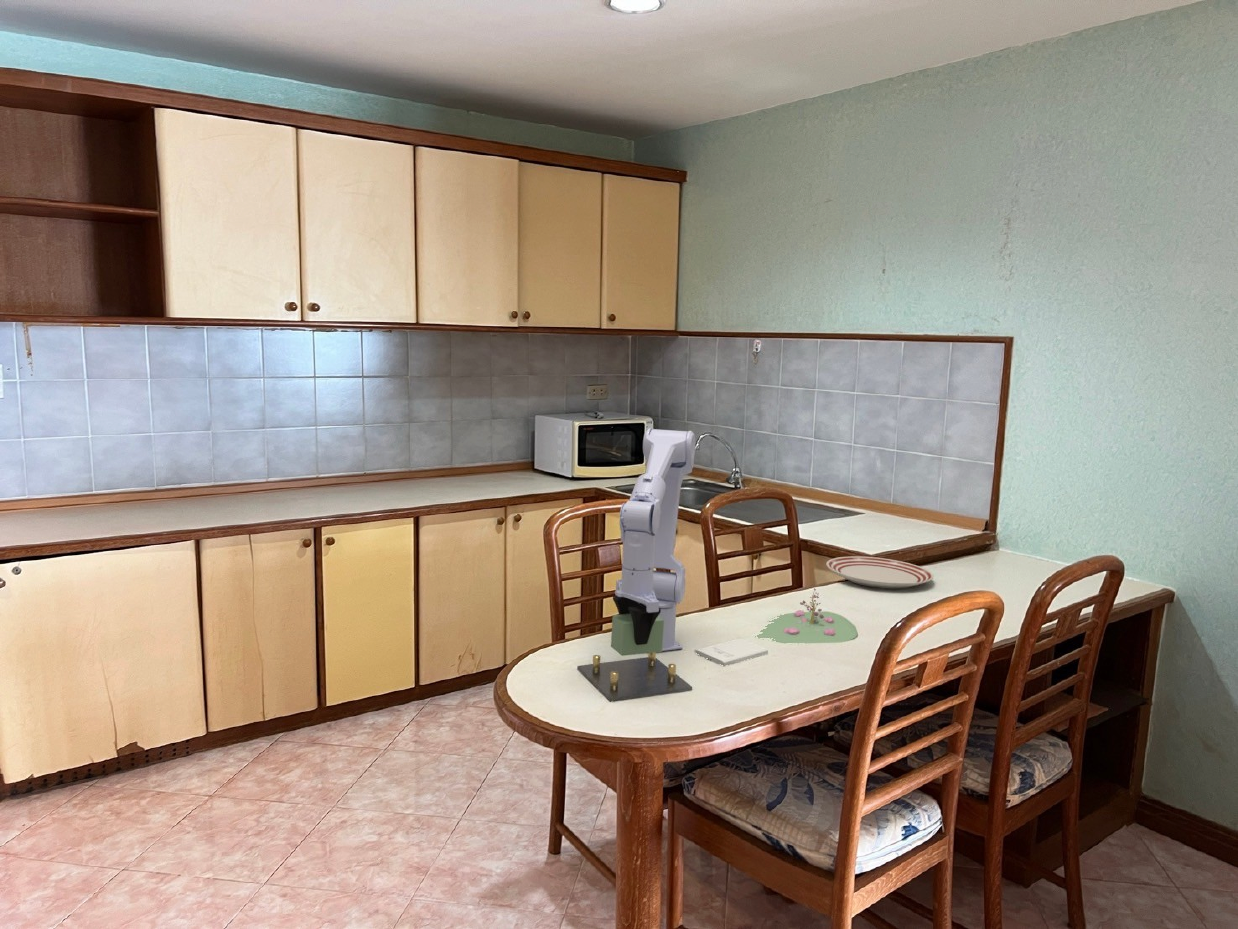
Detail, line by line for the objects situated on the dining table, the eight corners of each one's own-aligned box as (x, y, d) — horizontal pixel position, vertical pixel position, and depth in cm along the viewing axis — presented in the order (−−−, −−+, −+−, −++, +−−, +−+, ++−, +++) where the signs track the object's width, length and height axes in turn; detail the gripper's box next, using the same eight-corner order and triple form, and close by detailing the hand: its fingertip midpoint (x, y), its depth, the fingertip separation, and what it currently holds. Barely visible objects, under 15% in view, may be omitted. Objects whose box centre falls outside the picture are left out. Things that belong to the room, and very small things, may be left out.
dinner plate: (868, 561, 262) (869, 550, 262) (953, 584, 241) (954, 572, 240) (804, 574, 246) (804, 562, 245) (889, 601, 224) (890, 588, 224)
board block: (610, 646, 169) (612, 615, 168) (650, 642, 172) (652, 612, 171) (621, 655, 164) (623, 623, 163) (661, 651, 167) (663, 620, 166)
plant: (806, 658, 184) (809, 615, 183) (729, 630, 200) (731, 590, 198) (876, 633, 201) (879, 593, 199) (800, 609, 216) (802, 572, 215)
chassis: (577, 668, 173) (577, 650, 172) (653, 659, 179) (654, 641, 179) (610, 701, 158) (610, 682, 158) (692, 690, 165) (693, 671, 164)
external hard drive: (767, 657, 184) (723, 669, 177) (738, 644, 191) (694, 656, 183) (768, 649, 184) (724, 661, 177) (738, 637, 191) (695, 648, 183)
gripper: (602, 558, 170) (599, 628, 173) (634, 579, 157) (631, 654, 159) (636, 555, 173) (633, 624, 175) (670, 576, 160) (667, 650, 162)
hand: (634, 638), depth 168 cm, fingers closed on board block, 5 cm apart
